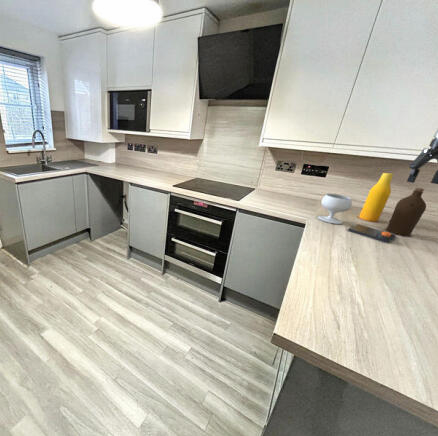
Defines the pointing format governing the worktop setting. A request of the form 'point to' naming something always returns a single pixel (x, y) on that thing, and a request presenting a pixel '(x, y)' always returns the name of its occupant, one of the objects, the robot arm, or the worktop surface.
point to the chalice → (335, 206)
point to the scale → (371, 233)
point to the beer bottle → (377, 199)
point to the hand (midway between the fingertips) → (422, 182)
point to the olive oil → (407, 214)
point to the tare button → (386, 234)
